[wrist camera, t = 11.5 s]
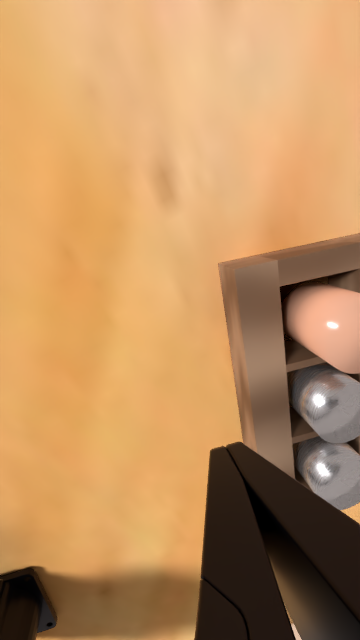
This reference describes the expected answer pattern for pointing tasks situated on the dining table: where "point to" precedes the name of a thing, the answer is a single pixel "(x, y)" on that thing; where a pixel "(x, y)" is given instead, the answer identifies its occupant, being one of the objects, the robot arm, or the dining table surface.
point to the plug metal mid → (326, 401)
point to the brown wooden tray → (277, 340)
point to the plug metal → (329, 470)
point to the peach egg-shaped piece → (325, 323)
